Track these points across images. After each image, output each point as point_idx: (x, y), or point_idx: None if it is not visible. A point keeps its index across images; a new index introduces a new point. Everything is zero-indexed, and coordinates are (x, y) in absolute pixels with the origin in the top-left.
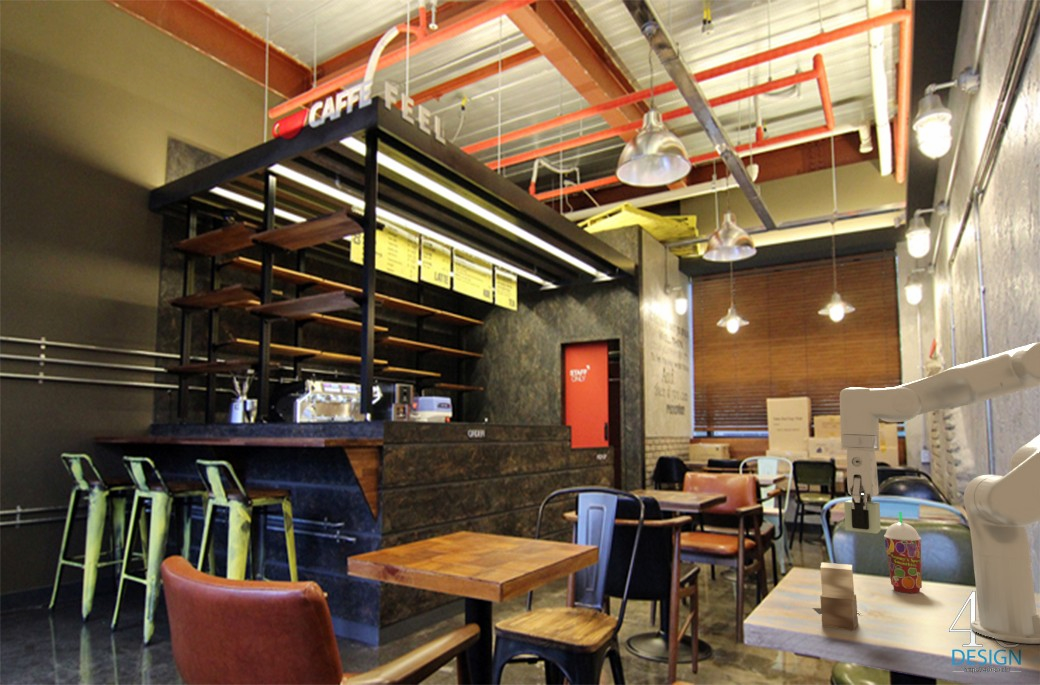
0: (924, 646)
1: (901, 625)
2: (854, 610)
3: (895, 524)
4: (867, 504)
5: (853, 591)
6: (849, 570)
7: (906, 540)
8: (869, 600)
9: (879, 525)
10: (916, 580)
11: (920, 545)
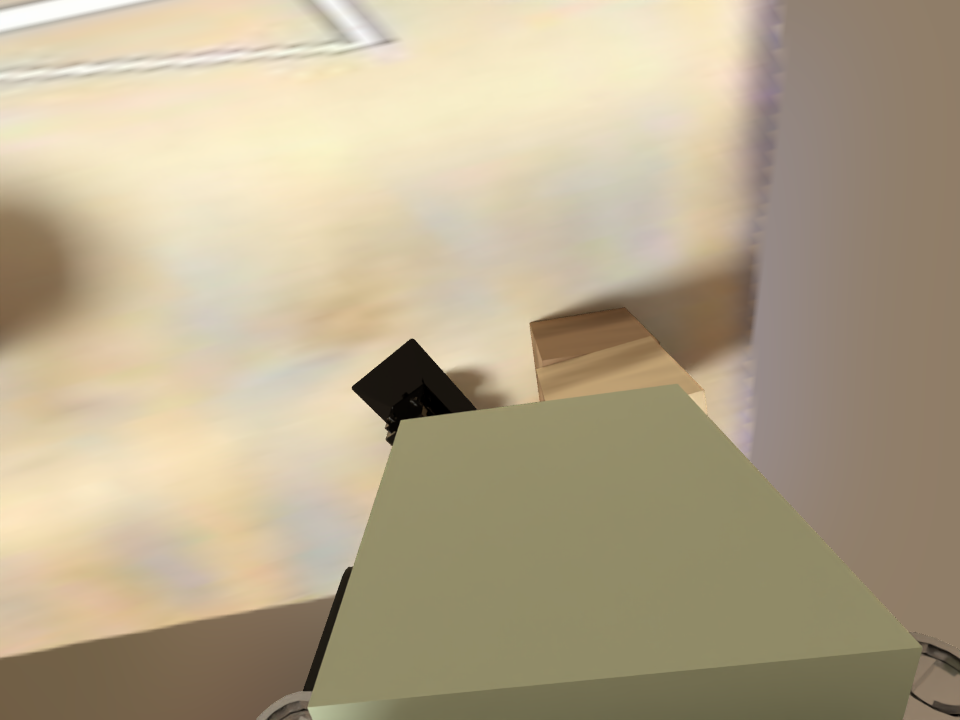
0: (678, 67)
1: (443, 208)
2: (596, 332)
3: None
4: None
5: (662, 349)
6: (703, 398)
7: None
8: (177, 389)
9: (461, 441)
10: None
11: None
